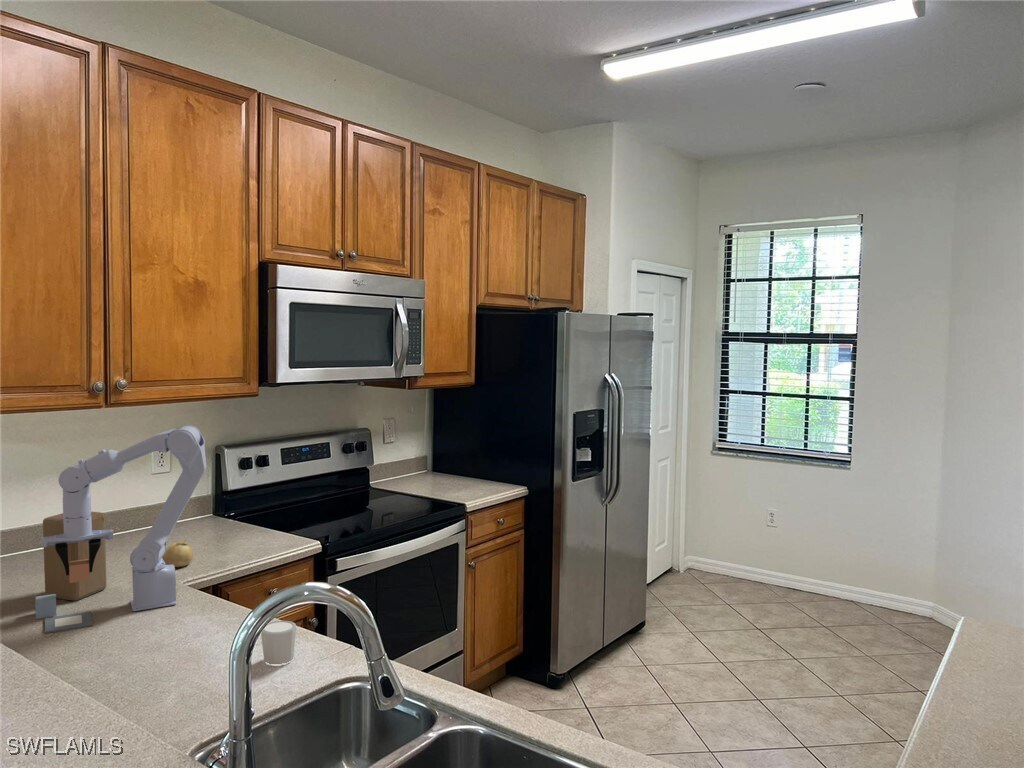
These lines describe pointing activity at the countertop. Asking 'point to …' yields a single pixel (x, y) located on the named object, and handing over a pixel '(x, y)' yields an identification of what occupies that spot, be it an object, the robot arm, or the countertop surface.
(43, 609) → the blue brick
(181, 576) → the countertop surface
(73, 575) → the terracotta brick
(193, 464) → the robot arm
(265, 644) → the white tapered cup
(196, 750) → the countertop surface
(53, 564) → the wooden block
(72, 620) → the mat
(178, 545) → the onion
